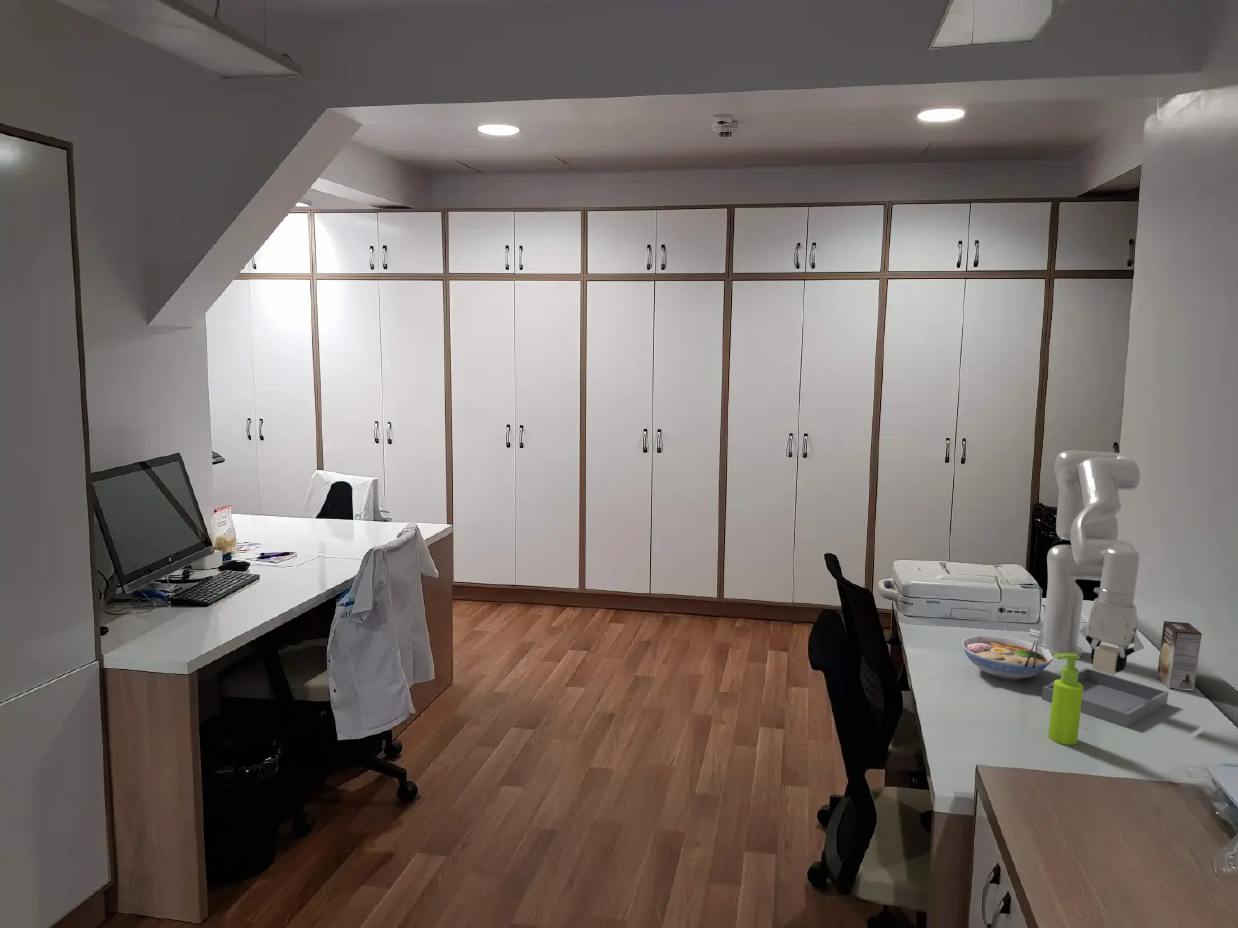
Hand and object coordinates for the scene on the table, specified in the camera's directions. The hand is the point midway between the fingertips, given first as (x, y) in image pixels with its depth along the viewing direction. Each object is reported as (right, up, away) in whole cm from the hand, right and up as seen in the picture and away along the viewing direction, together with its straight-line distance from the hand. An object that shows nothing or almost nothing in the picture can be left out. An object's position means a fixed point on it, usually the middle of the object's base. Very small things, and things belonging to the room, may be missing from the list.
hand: (1107, 666), depth 223 cm
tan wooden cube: (0, -1, 0) cm, 1 cm away
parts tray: (-1, -10, +1) cm, 10 cm away
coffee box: (+27, -9, +17) cm, 33 cm away
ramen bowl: (-18, -7, +19) cm, 27 cm away
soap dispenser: (-22, -12, -20) cm, 32 cm away
